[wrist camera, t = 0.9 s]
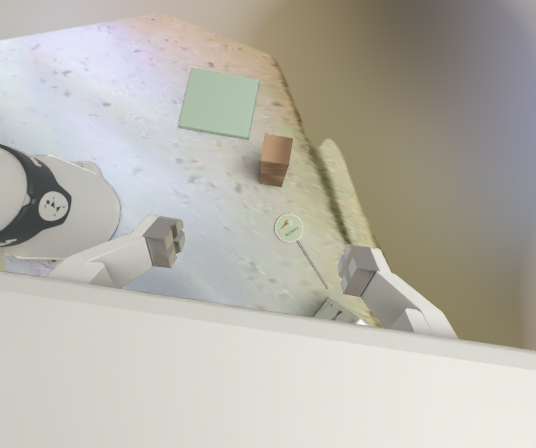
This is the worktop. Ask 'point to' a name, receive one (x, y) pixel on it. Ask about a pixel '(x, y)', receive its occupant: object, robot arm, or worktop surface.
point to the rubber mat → (219, 104)
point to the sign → (292, 233)
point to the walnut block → (274, 159)
